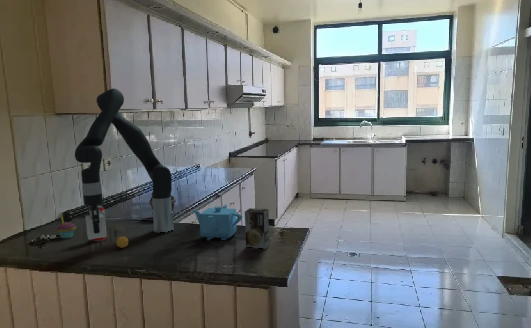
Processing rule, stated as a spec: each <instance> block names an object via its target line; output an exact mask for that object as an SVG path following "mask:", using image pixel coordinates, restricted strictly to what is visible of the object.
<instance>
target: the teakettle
mask: <svg viewBox="0 0 531 328" xmlns="http://www.w3.org/2000/svg"><path fill="white" fill-rule="evenodd" d="M190 211H191V212H193V213H194V214H195V215H196V219H197V223H198V224H199V228H200V238H201V237H202V238H206V239H214V238H220V241H221V240H226V239H227V240H228V239H230V238H231V237H232V236H233V235H234V234H235V233H236V232H237V231H238V226H237V225H238V224H239V223H240V222H241V220H242V219H243V216H242V214H240V213H237V209H236V208H228V204H224V205H223V206H220V205H219V206H218V205H217V206H214V207H211V208H210V207H209V208H208V207H207V209H205V210H203V211H202V212H200V211H199V210H197V209H191V210H190Z"/></svg>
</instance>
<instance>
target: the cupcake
mask: <svg viewBox="0 0 531 328" xmlns="http://www.w3.org/2000/svg"><path fill="white" fill-rule="evenodd" d="M60 218H61V223H60V224H59V225H58V226H56V232H58V233H59V235H60V238H61V239H70V238H72V237H73V235H74V232H75V231H76V230H77V225H76V224H75V223H73V222H64V217H63V215H62V213H60Z"/></svg>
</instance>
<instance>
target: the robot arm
mask: <svg viewBox="0 0 531 328" xmlns="http://www.w3.org/2000/svg"><path fill="white" fill-rule="evenodd" d="M124 97H125V96H124V95H123V93H122V91H120V90H119V89H117V88H110V89H108V90H106V91H104V92H102V93H101V94H99V95H97V97H96V104H97V107H98V108H99V109H100V112H99V115H98V116H97V117H96V118H95V119H94V121H93V122H92V123H91V125H90V128H89V130H88V131H87V134H86V136H85V137H84V138H83V139H82V140H81V142H80V143H79V144H77V147H76V148H75V151H74V158H75V160H76V161H77V162H78V163H81V164H82V163H83V164H89V167H87V168H83V169H82V170H81V172H80V174H81V185H82V186H81V191H82V199H83V201H82V202H83V205H85V206H88V207H89V208H88V212H89V215H90V216H91V219H92V221H93V223H92V224H93V228H94V233H95V234H96V233H99V232H100V230H99V223H100V221H99V218H100V215H99V212H100V210H99V207H97V206H99V205H101V204H103V202H104V199H103V198H104V197H103V187H102V182H101V174H100V170H101V165H102V159H103V152H102V148H101V146H102V145H103V143H104V141H105V139H106V136H107V133H108V131H109V129H110V127H111V125H113V126H114V127H115V130H117V132H118V133H119V135H120V136H121V137H122V138H123V141H124V142H125V144H127V145H126V146H128V148H129V149H130V150H131V152H132V153H133V154H134V155H135V156H136V158H137V159H138V160H139V161H140V162H141V164H142V166H143V167H144V169H145V170H146V173H147V175H148V176H149V178H150V180H151V181H152V193H151V197H152V204H153V210H152V213H153V214H152V218H153V219H152V220H153V232H154V233H158V234H161V233H160V232H165V233H169V232H168V231H170V232H171V230H173V231H174V230H175V227H174V226H175V225H174V214H173V212H172V206H171V196H172V192H173V191H172V189H173V187H172V184H173V183H172V182H173V181H172V173H171V171H170V169H169V168H168V167H167V166H165V165H163V164H162V163H161V161H160V160H159V159H158V158H157V156H156V155H155V154H154V152H153V149H152V147H151V144H150V142H149V140H148V138H147V137H146V134H145V133H144V132H143V130H142V129H141V128H140V127H139V126H137V125H136V124H135V123H133V122H131V121H129V119H126V118H125V117H124V116H123V114H122V113H121V112H120V111H119V110H120V109H121V108H122V107H123V106H124V105H123V104H124V101H125V98H124ZM94 219H97V220H98V221H94Z"/></svg>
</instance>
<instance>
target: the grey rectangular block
mask: <svg viewBox="0 0 531 328" xmlns="http://www.w3.org/2000/svg"><path fill="white" fill-rule="evenodd" d="M99 215H100V218H99V221H100V223H99V230H100V232H99V233H96V234H95V233H94V228H93V224H92V223H93V221H92V219H91V216H90V214H89V215H88V214H86V215H85V224H86V233H87V239H88V240H93V239H96V238H102V237H106V235H107V232H106V233H105V223H104V216H103V213H102V214H99ZM94 221H98V220H97V219H94ZM106 238H107V237H106Z"/></svg>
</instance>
